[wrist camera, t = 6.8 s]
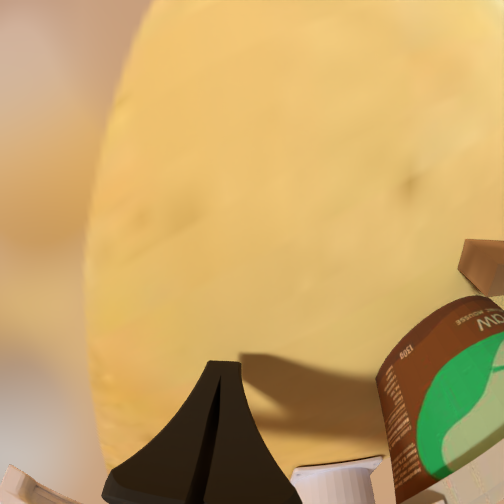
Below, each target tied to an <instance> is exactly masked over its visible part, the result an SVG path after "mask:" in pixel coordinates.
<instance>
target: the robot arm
mask: <svg viewBox="0 0 504 504" xmlns="http://www.w3.org/2000/svg"><path fill="white" fill-rule="evenodd" d="M382 461H383V458H382V457H381V456H379V457H374V458H369V459H364V460H358V461H352V462H345V463H338V464H330V465H321V466H311V467H298V468H295V469H294V471H293V473H292V476H291V479H290V481H289V480H288V479H287V477H286V476H285V475H284V473H283V472H282V470H281V469H280V467H279V466H278V465H277V463H276V461H275V460H274V458H273V457H272V455H271V453H270V452H269V450H268V448H267V447H266V445H265V443H264V441H263V439H262V437H261V435H260V433H259V431H258V429H257V426H256V424H255V422H254V419H253V417H252V414H251V412H250V409H249V406H248V403H247V399H246V396H245V393H244V388H243V384H242V378H241V363H239V362H234V361H211V360H210V361H208V362H207V364H206V367H205V369H204V371H203V373H202V375H201V377H200V378H199V380H198V382H197V384H196V385H195V387H194V389H193V390H192V392H191V393H190V395H189V397H188V398H187V400H186V401H185V402H184V404H183V405H182V406H181V408H180V409H179V411H178V412H177V413H176V414H175V416H174V417H173V418H172V419H171V421H170V422H169V423H168V424H167V425H166V426H165V427H164V428H163V429H162V430H161V431H160V432H159V433H158V435H157V436H155V437H154V438H153V439H152V440H151V441H150V442H149V443H148V444H147V445H146V446H144V447H143V448H142V449H141V450H140V451H138V452H137V453H136V454H135V455H133V456H132V457H131V458H129V459H128V460H126V461H125V462H123V463H122V464H120V465H119V466H117V467H115V468H114V469H112V470H111V472H110V474H109V476H108V478H107V480H106V482H105V485H104V488H103V492H102V495H101V496H102V498H103V499H104V500H105V501H106V502H107V503H109V504H375V500H374V495H373V489H372V486H371V480H370V474H371V473H372V472H373V471H374V470H375V469H376V468H377V466H378V465H379V464H380V463H381V462H382ZM0 504H81V503H79V502H77V501H74V500H72V499H70V498H68V497H65V496H63V495H61V494H59V493H57V492H55V491H53V490H51V489H49V488H47V487H45V486H43V485H41V484H40V483H38V482H36V481H35V480H34V479H33V478H32V477H30V476H29V475H27V474H26V473H24V472H23V471H21V470H19V469H18V468H16V467H14V466H13V465H9V466H8V469H7V471H6V473H5V475H4V478H3V480H2V482H1V485H0ZM432 504H445V503H444V500H440V501H437V502H435V503H432Z"/></svg>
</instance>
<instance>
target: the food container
mask: <svg viewBox="0 0 504 504" xmlns="http://www.w3.org/2000/svg"><path fill="white" fill-rule="evenodd" d="M376 383H377V388H378V392H379V397H380V402H381V407H382V412H383V417H384V422H385V427H386V433H387V439H388V445H389V451H390V457H391V464H392V471H393V478H394V487H395V496H396V504H432V503H435V502H437V501H440V500H444V503H445V504H496V503H498V502H499V501H501V500H502V499H504V310H502V309H501V308H500V307H499V306H498V305H497V304H495V303H494V302H493V301H492V300H491V299H490V298H488V297H483V296H478V295H476V296H468V297H464V298H460V299H458V300H455V301H453V302H451V303H448V304H447V305H445V306H443V307H441V308H440V309H438V310H436V311H435V312H433V313H432V314H430V315H429V316H428V317H426V318H425V319H423V320H422V321H421V322H420V323H419V324H417V325H416V326H415V327H414V328H413V329H412V330H411V331H410V332H409V333H407V334H406V335H405V336H404V337H403V338H402V339H401V341H400V342H399V343H398V344H397V345H396V346H395V347H394V348H393V350H392V351H391V352H390V354H389V355H388V356H387V358H386V359H385V361H384V363H383V364H382V366H381V368H380V370H379V372H378V374H377V377H376Z"/></svg>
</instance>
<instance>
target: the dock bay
mask: <svg viewBox="0 0 504 504" xmlns="http://www.w3.org/2000/svg"><path fill="white" fill-rule="evenodd" d="M458 270H459V271H460V272H461V273H462V274H464V275H465V276H466V277H467V278H468V279H469V280H470V281H471V282H472V283H473V284H474V285H475V286H476V287H477V288H478V289H479V290H480V291H481V292H482V293H483V294H484V295H485V296H486V297H492V296H500V295H504V241H494V240H474V239H466V240H465V244H464V248H463V251H462V255H461V259H460V262H459V266H458Z"/></svg>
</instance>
